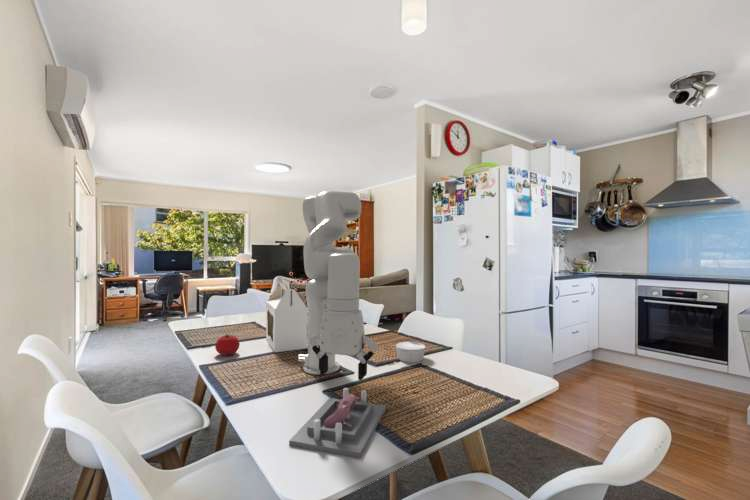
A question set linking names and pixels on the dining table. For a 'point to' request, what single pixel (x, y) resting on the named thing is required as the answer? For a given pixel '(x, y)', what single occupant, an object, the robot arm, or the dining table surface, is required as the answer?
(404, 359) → the ramekin
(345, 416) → the pink rounded piece
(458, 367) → the dining table surface
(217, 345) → the tomato
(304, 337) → the gable box
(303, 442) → the tray
